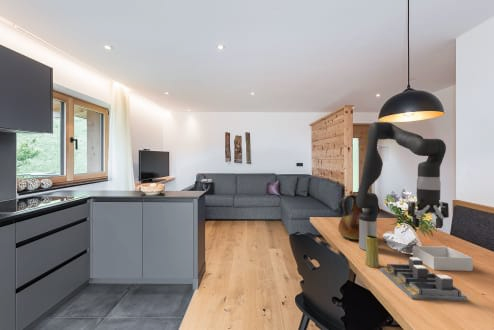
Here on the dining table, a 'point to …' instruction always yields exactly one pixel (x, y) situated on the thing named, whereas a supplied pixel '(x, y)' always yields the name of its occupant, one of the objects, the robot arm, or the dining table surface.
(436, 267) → the frame
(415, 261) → the breaker far
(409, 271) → the panel
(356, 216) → the ceramic pitcher
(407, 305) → the dining table surface
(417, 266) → the block
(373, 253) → the vase
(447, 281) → the breaker near
